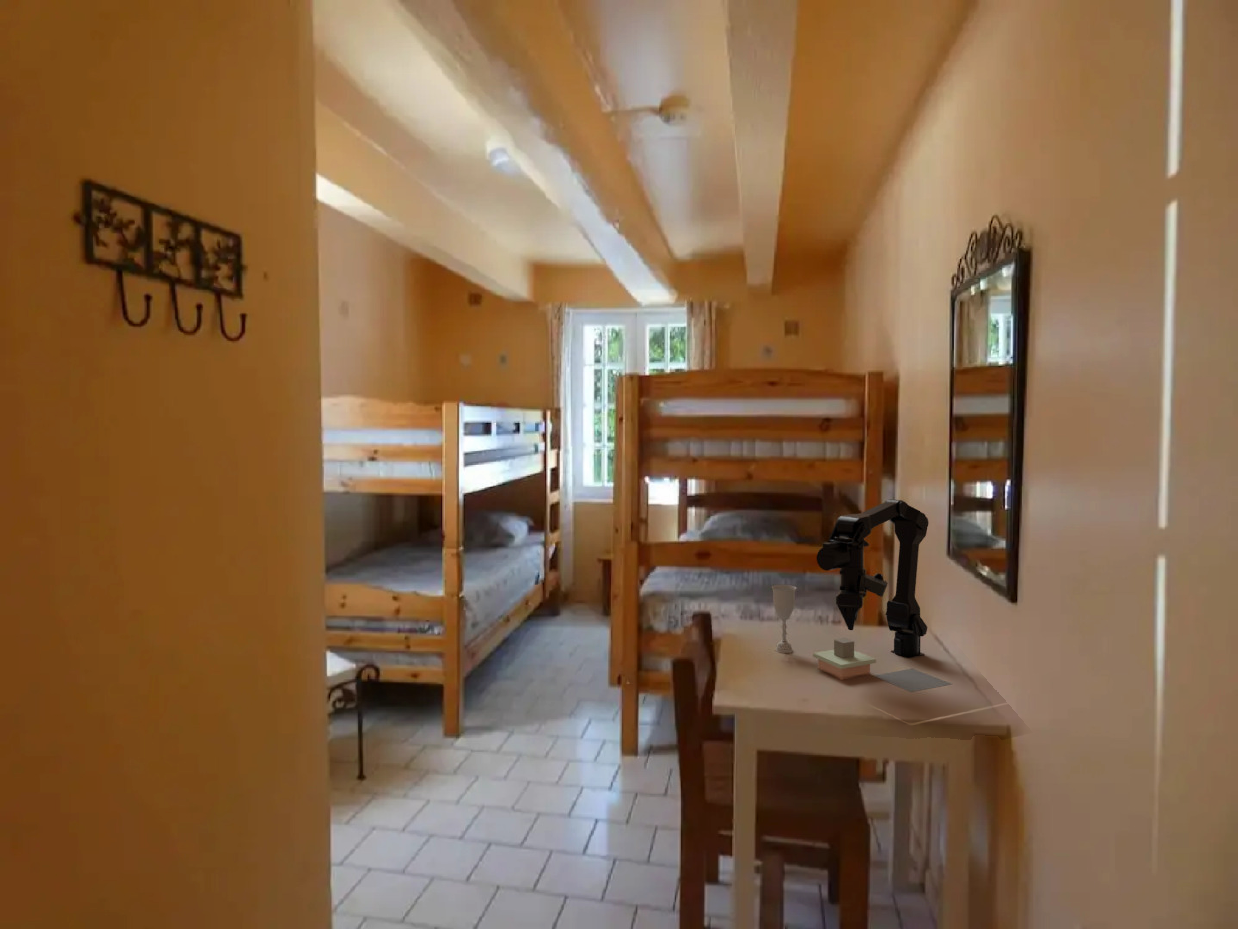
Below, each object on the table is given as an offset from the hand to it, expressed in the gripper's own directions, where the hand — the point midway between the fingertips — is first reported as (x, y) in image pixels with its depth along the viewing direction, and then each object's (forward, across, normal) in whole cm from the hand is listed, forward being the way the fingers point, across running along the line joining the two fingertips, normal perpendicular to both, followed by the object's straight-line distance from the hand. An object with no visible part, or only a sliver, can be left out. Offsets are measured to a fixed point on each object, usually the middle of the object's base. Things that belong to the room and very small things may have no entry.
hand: (852, 625), depth 195 cm
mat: (+12, -3, -14) cm, 19 cm away
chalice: (+12, +12, +20) cm, 26 cm away
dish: (+12, -2, +2) cm, 12 cm away
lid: (+8, -2, +2) cm, 9 cm away
